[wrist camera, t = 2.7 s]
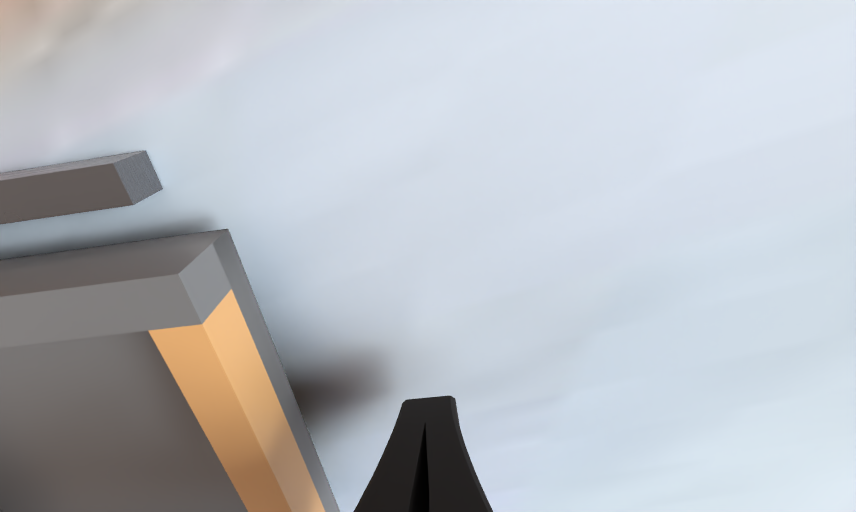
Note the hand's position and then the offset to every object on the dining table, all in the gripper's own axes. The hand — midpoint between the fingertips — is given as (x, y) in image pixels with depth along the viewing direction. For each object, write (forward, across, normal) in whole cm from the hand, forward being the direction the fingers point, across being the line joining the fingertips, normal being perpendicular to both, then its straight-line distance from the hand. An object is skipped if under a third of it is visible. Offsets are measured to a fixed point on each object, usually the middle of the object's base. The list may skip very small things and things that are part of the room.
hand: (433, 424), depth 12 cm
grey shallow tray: (+2, +10, 0) cm, 10 cm away
